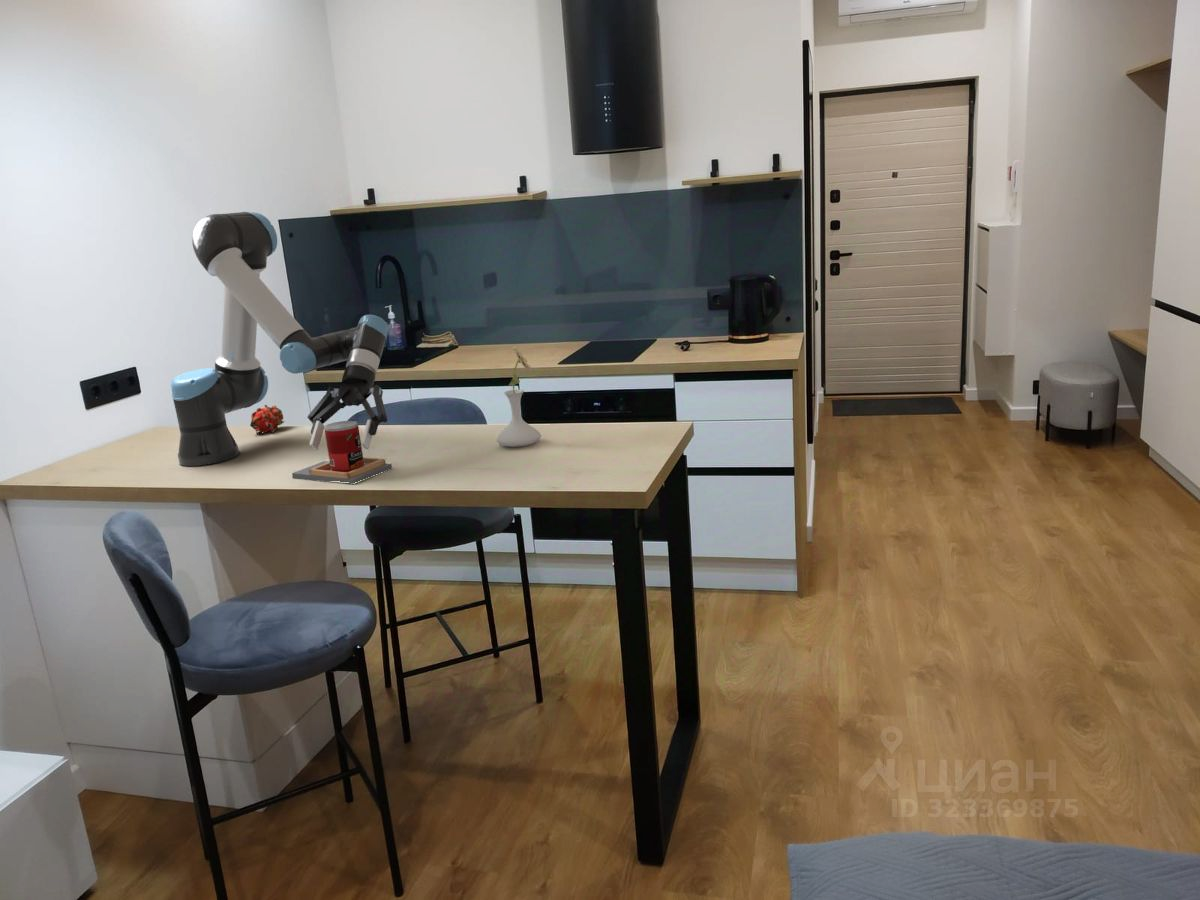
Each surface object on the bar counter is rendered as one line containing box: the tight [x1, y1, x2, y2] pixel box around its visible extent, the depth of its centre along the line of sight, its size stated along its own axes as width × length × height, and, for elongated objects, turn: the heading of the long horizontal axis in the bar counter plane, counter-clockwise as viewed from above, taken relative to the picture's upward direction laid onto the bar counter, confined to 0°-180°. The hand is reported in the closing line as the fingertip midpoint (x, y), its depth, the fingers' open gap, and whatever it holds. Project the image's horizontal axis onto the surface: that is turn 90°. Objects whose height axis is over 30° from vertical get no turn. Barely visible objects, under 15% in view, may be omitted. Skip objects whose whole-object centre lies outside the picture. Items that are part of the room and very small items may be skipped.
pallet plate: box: [291, 456, 393, 483], centre depth 224 cm, size 20×13×2 cm, turn 60°
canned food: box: [324, 420, 364, 473], centre depth 222 cm, size 8×8×11 cm
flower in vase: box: [496, 345, 542, 448], centre depth 235 cm, size 13×11×25 cm
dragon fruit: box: [249, 404, 285, 435], centre depth 276 cm, size 8×8×12 cm
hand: (338, 446), depth 219 cm, fingers open, 13 cm apart
